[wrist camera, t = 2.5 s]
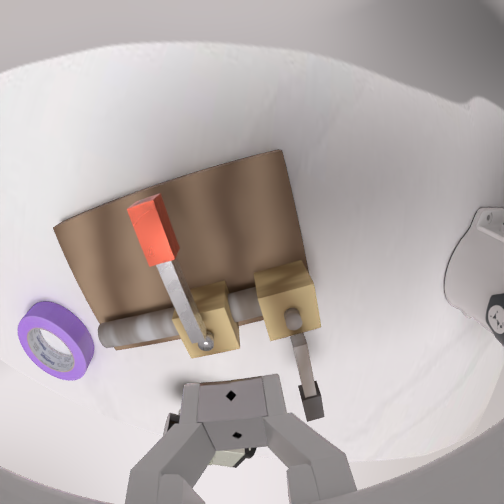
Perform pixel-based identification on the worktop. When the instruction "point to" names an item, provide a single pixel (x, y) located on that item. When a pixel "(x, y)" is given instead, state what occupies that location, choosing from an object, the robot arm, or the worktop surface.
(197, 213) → the pipe board
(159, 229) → the red lever
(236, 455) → the pneumatic valve
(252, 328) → the worktop surface
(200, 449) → the robot arm
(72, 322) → the masking tape
